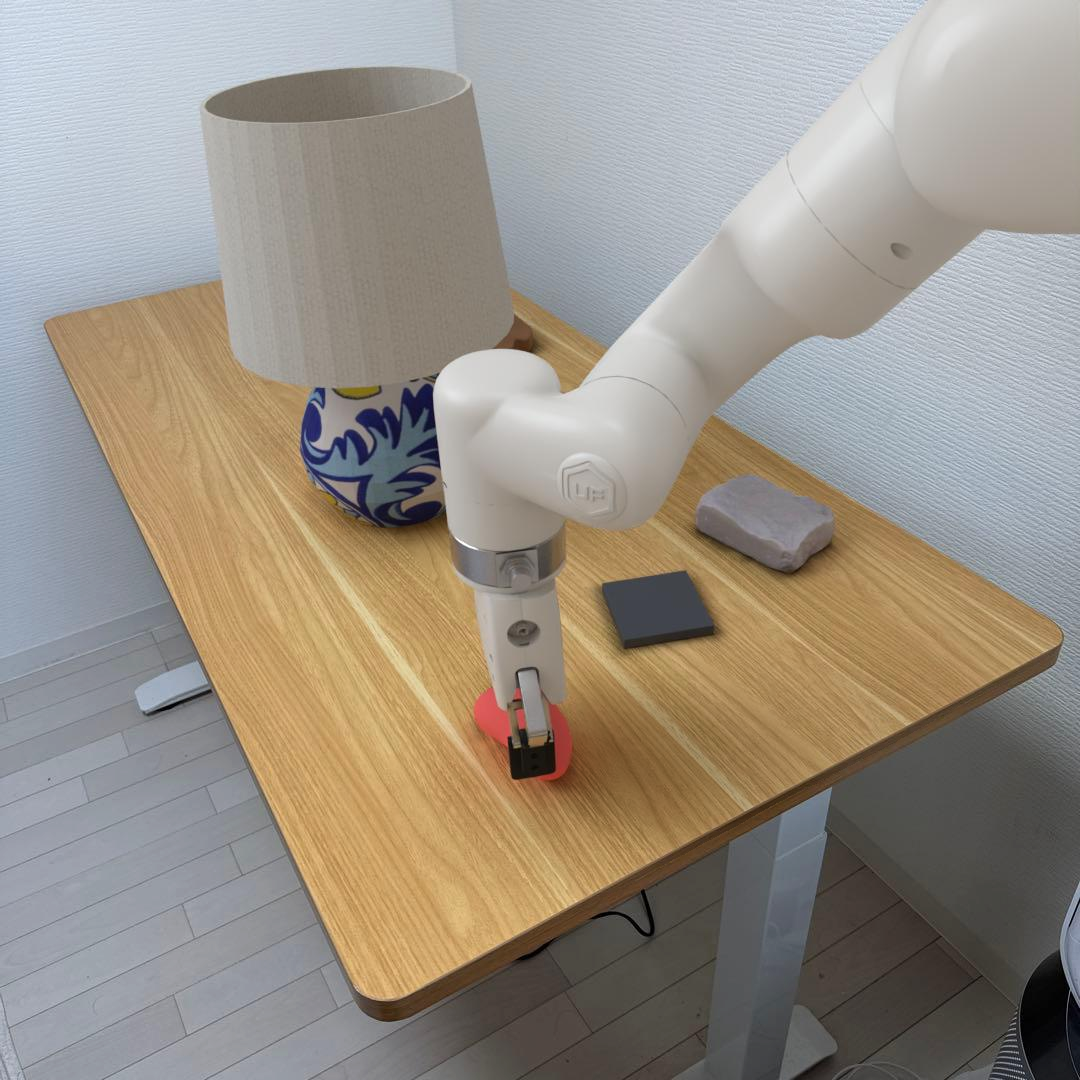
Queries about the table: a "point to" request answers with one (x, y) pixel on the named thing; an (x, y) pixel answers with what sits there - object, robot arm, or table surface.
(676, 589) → the felt pad
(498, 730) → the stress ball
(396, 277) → the table lamp
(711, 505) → the stone block
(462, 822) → the table surface
